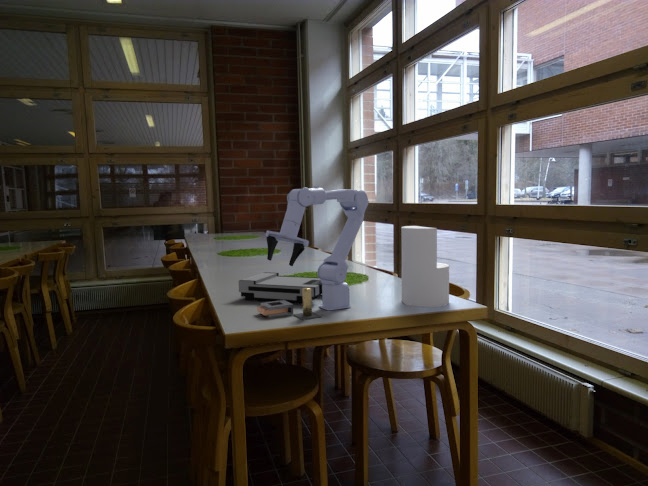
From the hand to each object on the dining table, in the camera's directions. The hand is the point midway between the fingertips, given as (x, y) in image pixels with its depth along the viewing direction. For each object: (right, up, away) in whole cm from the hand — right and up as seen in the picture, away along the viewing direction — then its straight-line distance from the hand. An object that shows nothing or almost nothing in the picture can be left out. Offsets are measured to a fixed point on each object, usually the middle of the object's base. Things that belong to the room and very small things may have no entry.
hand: (279, 262), depth 149 cm
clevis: (-2, -18, +9) cm, 20 cm away
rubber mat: (+9, -18, +5) cm, 21 cm away
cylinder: (+52, -16, +23) cm, 59 cm away
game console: (0, -16, +36) cm, 39 cm away
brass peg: (+9, -18, +5) cm, 20 cm away
